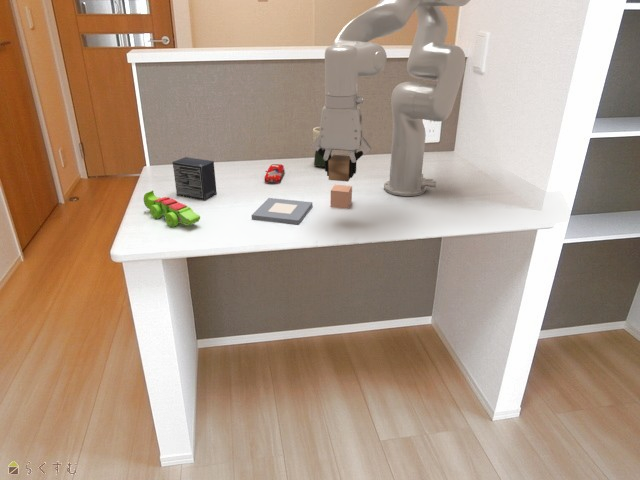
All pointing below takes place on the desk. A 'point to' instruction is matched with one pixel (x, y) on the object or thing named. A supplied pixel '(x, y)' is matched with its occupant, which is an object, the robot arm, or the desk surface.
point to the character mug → (318, 158)
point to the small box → (195, 178)
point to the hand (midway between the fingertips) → (340, 174)
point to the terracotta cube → (341, 196)
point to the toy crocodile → (170, 210)
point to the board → (282, 211)
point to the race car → (274, 173)
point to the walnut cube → (339, 168)
